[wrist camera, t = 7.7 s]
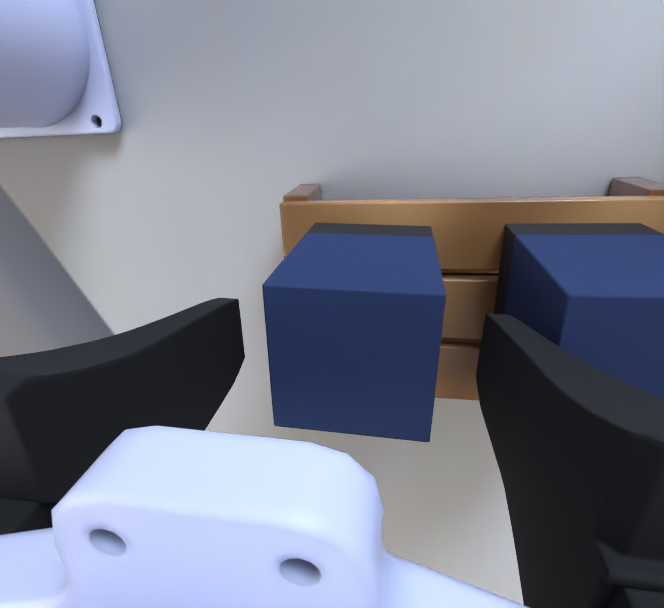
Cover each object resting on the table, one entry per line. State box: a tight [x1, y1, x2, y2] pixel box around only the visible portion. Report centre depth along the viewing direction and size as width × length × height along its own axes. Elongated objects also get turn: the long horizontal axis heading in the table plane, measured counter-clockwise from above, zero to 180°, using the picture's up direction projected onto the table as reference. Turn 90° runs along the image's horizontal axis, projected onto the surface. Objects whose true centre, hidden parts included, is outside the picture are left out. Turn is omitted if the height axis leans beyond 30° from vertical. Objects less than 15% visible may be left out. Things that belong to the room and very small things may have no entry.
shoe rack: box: [280, 177, 664, 400], centre depth 18 cm, size 14×9×4 cm, turn 93°
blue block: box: [262, 223, 446, 442], centre depth 14 cm, size 7×4×6 cm, turn 1°
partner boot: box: [494, 223, 664, 398], centre depth 13 cm, size 7×4×6 cm, turn 3°
